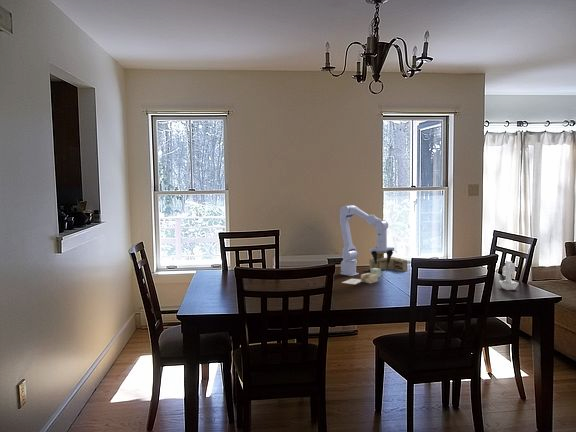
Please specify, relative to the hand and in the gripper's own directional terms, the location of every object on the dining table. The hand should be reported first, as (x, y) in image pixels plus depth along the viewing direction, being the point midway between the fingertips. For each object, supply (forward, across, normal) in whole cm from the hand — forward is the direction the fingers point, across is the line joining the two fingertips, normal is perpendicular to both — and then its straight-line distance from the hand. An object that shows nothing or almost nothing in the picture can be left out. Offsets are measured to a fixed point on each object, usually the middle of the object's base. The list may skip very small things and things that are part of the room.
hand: (381, 263), depth 270 cm
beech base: (+10, -9, -4) cm, 14 cm away
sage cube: (+10, -2, +8) cm, 12 cm away
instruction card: (+10, -18, -2) cm, 21 cm away
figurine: (+9, +57, -38) cm, 69 cm away
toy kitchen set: (+10, +12, +23) cm, 28 cm away
